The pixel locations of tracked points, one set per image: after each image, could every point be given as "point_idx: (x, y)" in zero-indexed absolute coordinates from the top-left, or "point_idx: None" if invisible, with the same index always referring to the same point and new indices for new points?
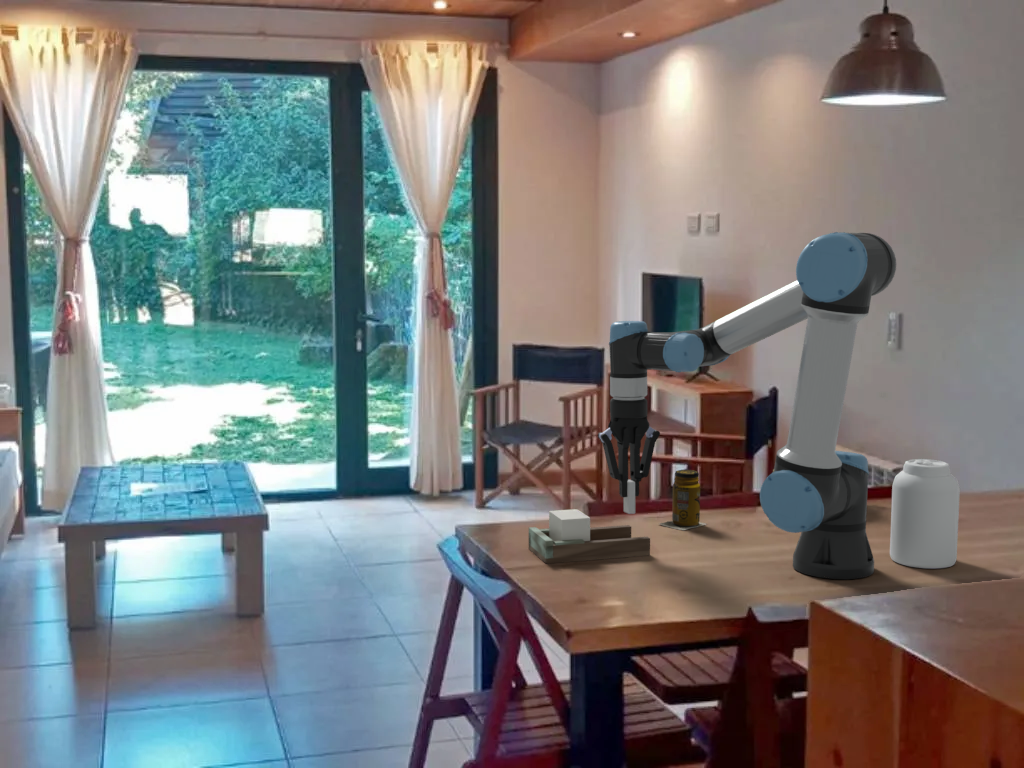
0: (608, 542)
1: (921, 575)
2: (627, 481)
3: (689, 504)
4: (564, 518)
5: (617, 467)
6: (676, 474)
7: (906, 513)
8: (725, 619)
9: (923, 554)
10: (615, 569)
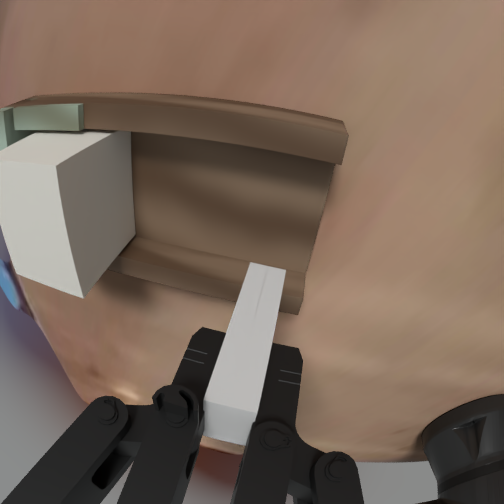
0: (165, 283)
1: None
2: (208, 426)
3: None
4: (21, 265)
5: (107, 490)
6: None
7: None
8: (222, 452)
9: None
10: (169, 317)
